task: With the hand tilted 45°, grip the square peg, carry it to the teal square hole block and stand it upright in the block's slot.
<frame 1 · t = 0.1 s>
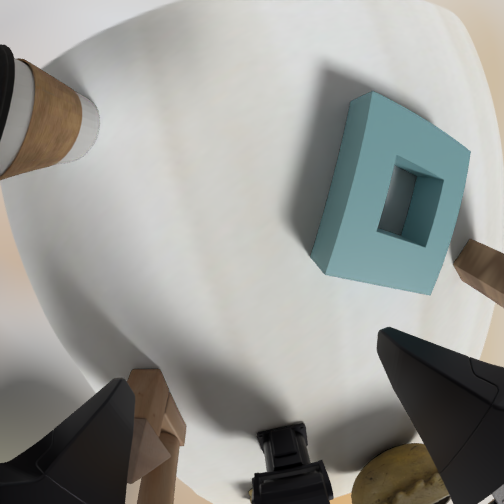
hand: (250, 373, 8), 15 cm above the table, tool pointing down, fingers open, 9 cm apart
coffee cup: (74, 129, 18), on the table
clay pot: (385, 453, 37), on the table
square peg: (466, 260, 25), on the table
wooden block: (161, 398, 27), on the table
teal square hole block: (388, 197, 22), on the table
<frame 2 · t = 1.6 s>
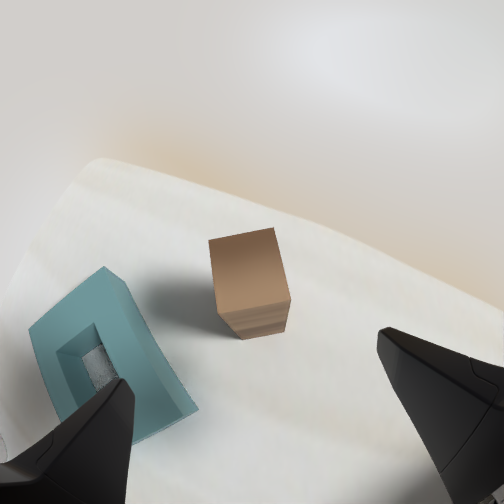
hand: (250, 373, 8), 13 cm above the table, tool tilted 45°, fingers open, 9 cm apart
square peg: (258, 313, 22), on the table
teal square hole block: (110, 371, 21), on the table
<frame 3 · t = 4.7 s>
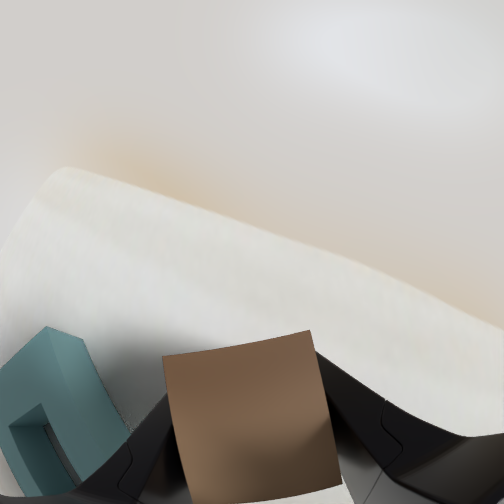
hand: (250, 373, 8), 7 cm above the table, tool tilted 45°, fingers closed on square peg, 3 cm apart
square peg: (266, 397, 14), on the table, touching gripper
teal square hole block: (76, 450, 12), on the table
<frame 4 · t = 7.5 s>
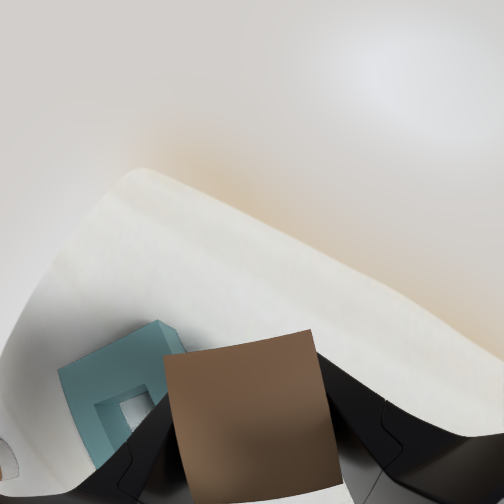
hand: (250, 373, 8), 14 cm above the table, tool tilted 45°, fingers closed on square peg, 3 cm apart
coffee cup: (8, 458, 15), on the table
square peg: (266, 396, 14), point 6 cm above the table, touching gripper
teal square hole block: (154, 424, 19), on the table
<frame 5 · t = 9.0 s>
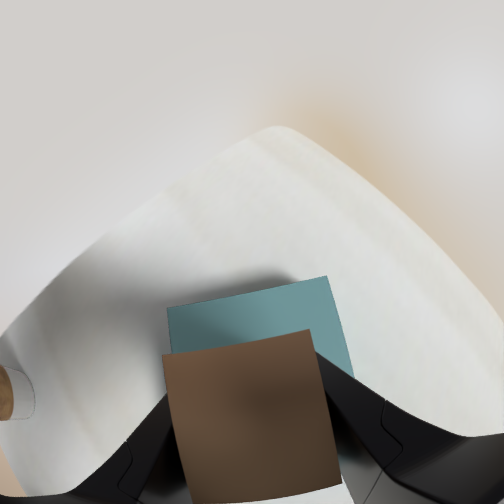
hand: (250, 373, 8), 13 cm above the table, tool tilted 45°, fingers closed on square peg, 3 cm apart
coffee cup: (22, 395, 19), on the table
square peg: (266, 396, 14), point 6 cm above the table, touching gripper
teal square hole block: (268, 391, 19), on the table
when the fingers open (8 cm above the table, at t = 10.2 s): square peg stays where it is, resting in teal square hole block.
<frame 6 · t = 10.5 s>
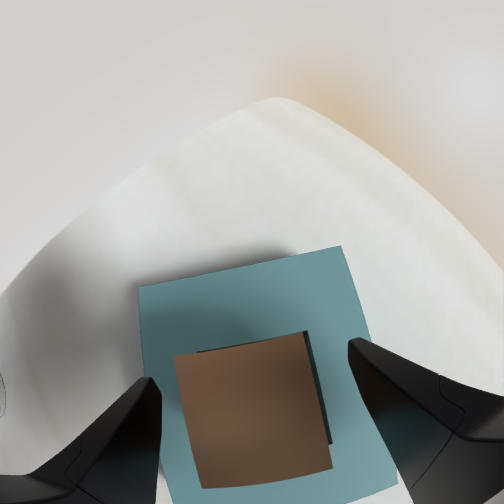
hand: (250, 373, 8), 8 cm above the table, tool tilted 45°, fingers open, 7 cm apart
square peg: (265, 394, 15), resting in teal square hole block
teal square hole block: (266, 395, 15), on the table
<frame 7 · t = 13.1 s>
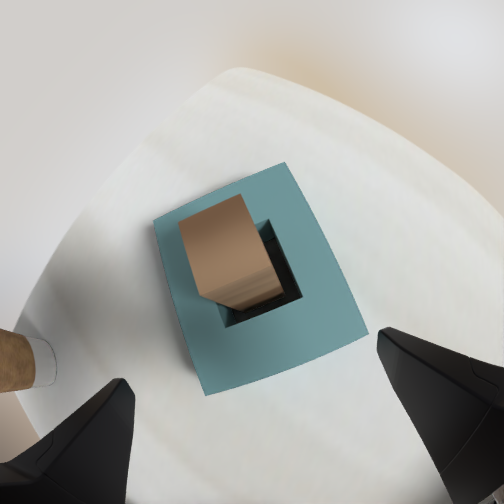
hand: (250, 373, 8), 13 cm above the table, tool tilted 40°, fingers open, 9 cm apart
coffee cup: (45, 362, 24), on the table
square peg: (256, 282, 22), resting in teal square hole block
teal square hole block: (257, 282, 22), on the table
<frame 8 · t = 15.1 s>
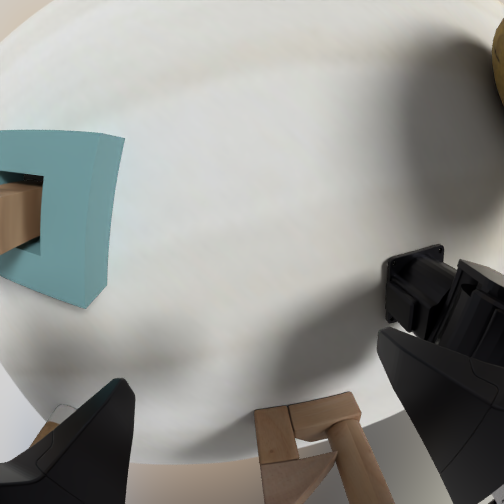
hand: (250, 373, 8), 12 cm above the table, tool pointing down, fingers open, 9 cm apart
coffee cup: (75, 417, 25), on the table
square peg: (43, 202, 17), resting in teal square hole block
wooden block: (303, 409, 26), on the table
teal square hole block: (44, 201, 17), on the table
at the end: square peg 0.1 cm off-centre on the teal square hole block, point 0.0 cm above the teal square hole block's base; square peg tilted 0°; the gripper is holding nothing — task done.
